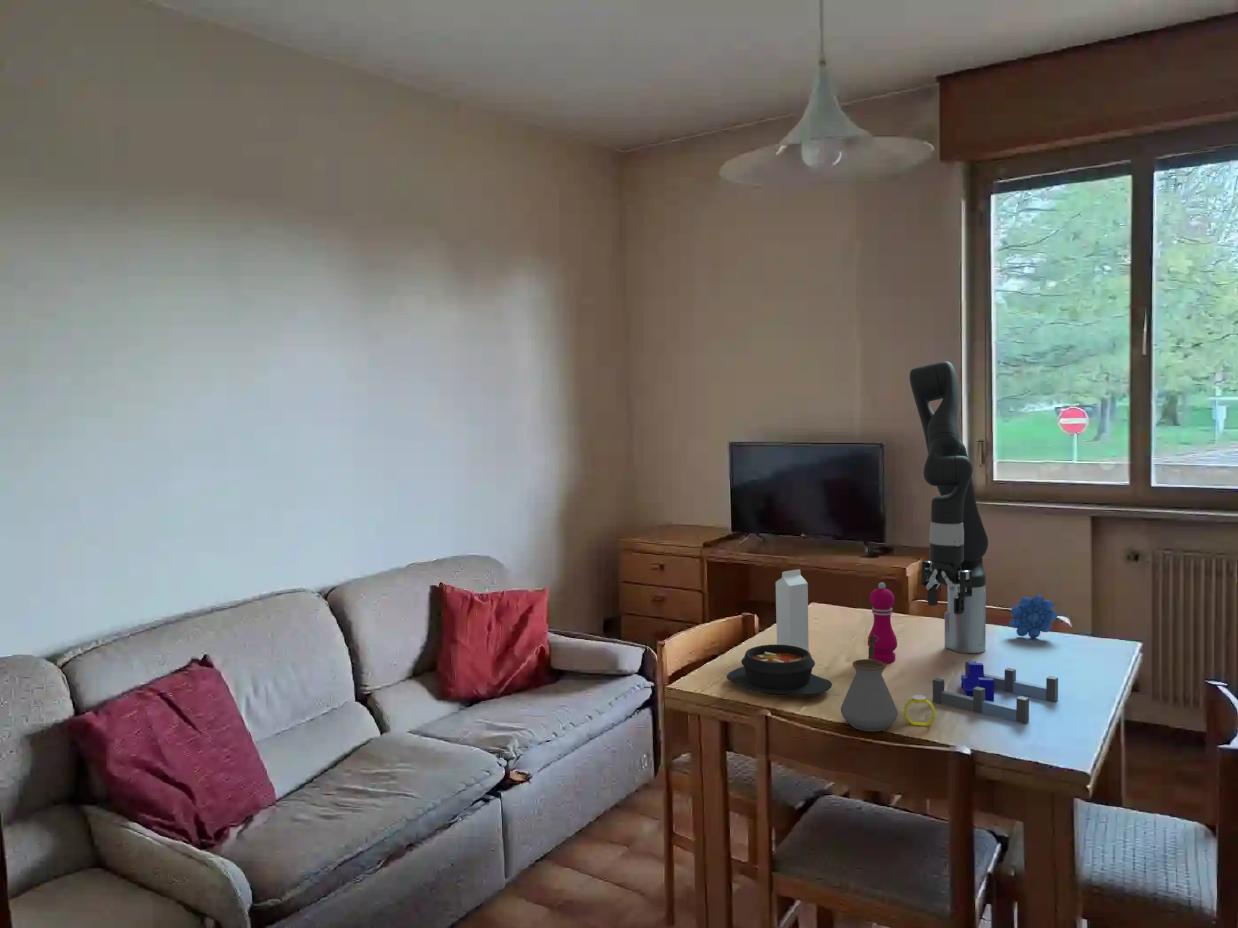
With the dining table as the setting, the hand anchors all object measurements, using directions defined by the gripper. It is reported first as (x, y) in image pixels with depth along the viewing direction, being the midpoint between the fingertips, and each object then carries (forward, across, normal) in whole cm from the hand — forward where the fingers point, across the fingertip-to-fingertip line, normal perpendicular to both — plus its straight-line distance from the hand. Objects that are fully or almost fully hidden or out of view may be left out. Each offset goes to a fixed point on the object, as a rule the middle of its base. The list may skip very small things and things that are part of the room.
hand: (945, 609), depth 207 cm
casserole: (+18, -12, -38) cm, 43 cm away
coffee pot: (+17, +11, -29) cm, 36 cm away
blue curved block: (+17, +12, -2) cm, 21 cm away
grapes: (+16, -17, +45) cm, 50 cm away
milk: (+18, -34, -20) cm, 43 cm away
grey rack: (+17, +16, 0) cm, 23 cm away
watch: (+17, +20, -24) cm, 35 cm away
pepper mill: (+17, -19, -3) cm, 26 cm away
